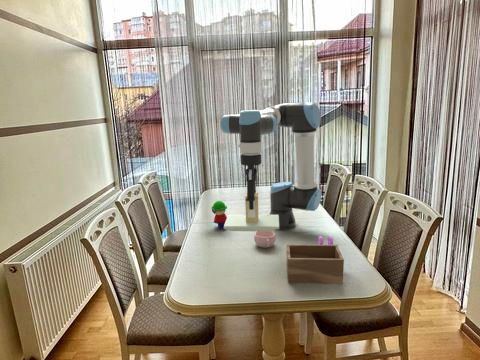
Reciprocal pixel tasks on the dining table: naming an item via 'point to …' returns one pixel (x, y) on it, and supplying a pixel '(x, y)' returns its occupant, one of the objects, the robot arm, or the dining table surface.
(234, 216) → the lid
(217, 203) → the toy
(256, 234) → the mug
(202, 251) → the dining table surface
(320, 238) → the bracket
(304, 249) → the box
